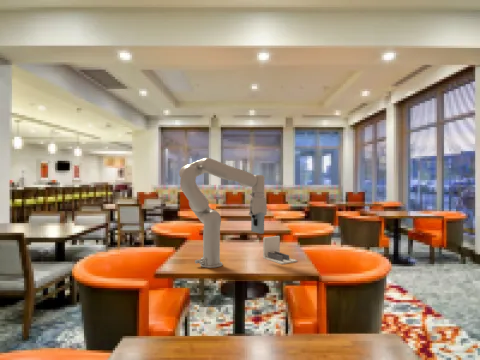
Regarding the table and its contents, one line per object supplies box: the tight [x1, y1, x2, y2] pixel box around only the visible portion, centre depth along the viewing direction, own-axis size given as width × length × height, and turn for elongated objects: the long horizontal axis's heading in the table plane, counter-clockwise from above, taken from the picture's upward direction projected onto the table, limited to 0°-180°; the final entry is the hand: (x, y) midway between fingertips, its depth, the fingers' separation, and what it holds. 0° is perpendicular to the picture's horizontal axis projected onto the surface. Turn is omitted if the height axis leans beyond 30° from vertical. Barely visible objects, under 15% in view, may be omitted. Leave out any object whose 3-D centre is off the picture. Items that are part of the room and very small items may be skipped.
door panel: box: [250, 213, 265, 234], centre depth 190 cm, size 4×10×12 cm, turn 32°
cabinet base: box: [262, 235, 298, 265], centre depth 191 cm, size 12×18×13 cm, turn 32°
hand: (257, 225), depth 190 cm, fingers closed on door panel, 2 cm apart
